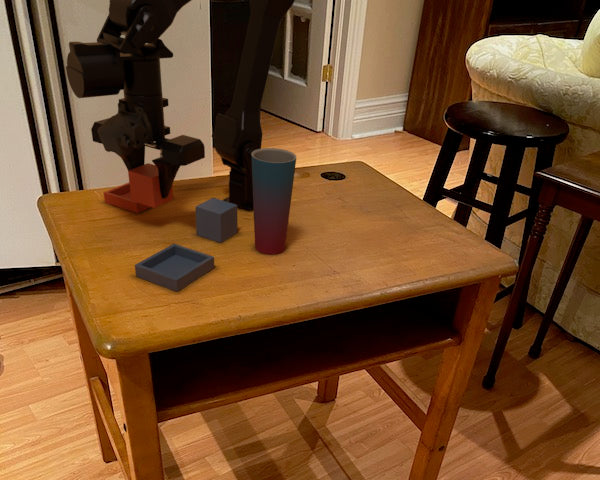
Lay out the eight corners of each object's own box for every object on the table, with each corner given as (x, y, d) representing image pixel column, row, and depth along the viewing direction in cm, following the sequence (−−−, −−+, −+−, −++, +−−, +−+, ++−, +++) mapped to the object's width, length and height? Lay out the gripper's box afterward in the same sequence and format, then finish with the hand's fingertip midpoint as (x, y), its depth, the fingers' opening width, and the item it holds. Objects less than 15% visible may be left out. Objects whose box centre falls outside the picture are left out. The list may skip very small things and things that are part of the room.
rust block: (150, 192, 102) (148, 162, 99) (173, 199, 100) (171, 169, 97) (131, 200, 98) (127, 170, 95) (154, 208, 97) (151, 177, 93)
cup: (244, 241, 99) (245, 148, 89) (282, 237, 101) (287, 147, 92) (256, 259, 94) (259, 163, 85) (296, 254, 96) (303, 161, 87)
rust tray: (138, 188, 113) (137, 178, 112) (170, 198, 111) (169, 188, 110) (104, 202, 107) (103, 192, 106) (137, 213, 104) (136, 202, 103)
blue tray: (174, 254, 93) (174, 243, 92) (214, 268, 91) (214, 256, 90) (135, 276, 87) (134, 264, 86) (177, 291, 84) (176, 280, 83)
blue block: (213, 225, 103) (213, 197, 100) (237, 233, 101) (237, 204, 98) (196, 235, 99) (195, 206, 96) (220, 243, 98) (220, 214, 94)
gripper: (56, 89, 86) (75, 194, 96) (156, 114, 80) (165, 223, 90) (110, 78, 94) (122, 176, 104) (205, 100, 88) (208, 202, 98)
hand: (152, 193), depth 99 cm, fingers closed on rust block, 5 cm apart
